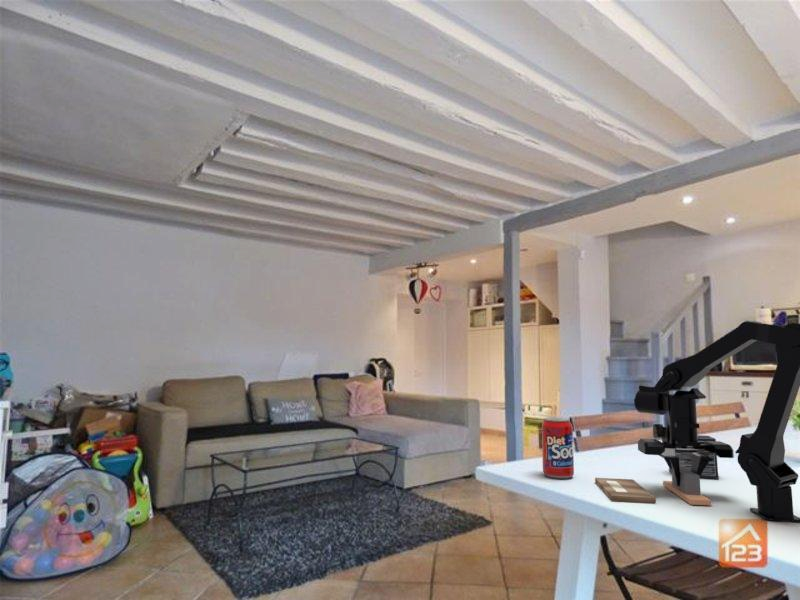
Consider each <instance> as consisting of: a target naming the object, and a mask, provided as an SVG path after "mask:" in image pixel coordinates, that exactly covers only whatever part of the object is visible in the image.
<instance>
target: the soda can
mask: <svg viewBox="0 0 800 600" xmlns="http://www.w3.org/2000/svg"><path fill="white" fill-rule="evenodd" d="M543 420H544V421H542V423H541V446H542V447H541V449H542V450H541V452H542V454H541V456H542V473H543V474H544V475H545V476H547V477H549V478H552V479H558V480H566V479H570V478H571V477H573V476H574V475H575V464H574V462H575V459H574V457H575V456H574V427H573V425H572V423H571V422H570V421H571V419H570V418H566V417H559V416H557V417H556V416H551V417H544V419H543Z"/></svg>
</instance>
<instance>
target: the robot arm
mask: <svg viewBox="0 0 800 600" xmlns="http://www.w3.org/2000/svg"><path fill="white" fill-rule="evenodd" d="M755 342H763V343H769V344H773V345H775V348H774V349H775V358H776V359H775V360H776V367H775V371H774V374H773V377H772V380H771V382H770V386H769V389H768V392H767V396H766V398H765V402H764V405H763V408H762V411H761V414H760V418H759V419H758V424H757V426H756V429H755V431H754V432H751V433H745V434H741V436H740V438H739V439H740V441H739V446H738V448H737V450H736V451H735V452H734V449H733V447H732V445H730V444H729V443H726V442H723V441H720V440H719V441H718V440H716V441H705V442H704V444H700V442H698V435H699V434H698V429H700V423H699V422H698V419H697V400H705V399H706V398H707V396H706V395H705V394H704V393H702V392H701V391H700V390H699V388H697V387H696V388H695V386H696V385H698V384H699V383H700V382H701V381H702V380H703V379H704V378H705V377H706V376H707V374H708V373H709V372H710V370H712V369H713V368H714V367H716V366H717V365H719V364H721V363H722V362H724V361H725V360H727V359H729V358H730V357H733V356H734V355H735V354H737V353H739V352H740V351H742V350H744V349H745V348H747V347H749V346H751V345H752V344H754V343H755ZM693 387H694V388H693ZM685 388H687V389H688V388H691V389H690V390H682V389H685ZM799 389H800V323H797V322H793V323H787V324H785V325H779V324H778V325H777V324H771V323H763V322H761V321H756V320H746V321H743V322H741V323H740V324H739V325H737V327H735V328H734V329H732V330H730V331H729V332H728V333H725V334H724V335H723V336H721V337H720V338H719V339H717V340H715V341H713V342H712V343H711V344H709V345H707V346H706V347H704V348H702V349H700V351H698V352H696V353H695V354H693V355H690V356H688V357H683V358H681V359H678V360H676V361H672V362H671V363H669V364H666V365H665V366H664V368H663V369H662V374H661V377H660V378H659V380H658V381H657V383H656V384H655V385H654V386H650V385H644V384H642V385H639V386H638V390H637V392H636V393H635V397H634V400H633V402H634V403H633V405H634V407H635V410H636V411H637V412H639V413H640V414H641V413H642V414H650V415H661V416H665V415H666V414H667V412H668V419H666V426H663V424H660V423H659V424H658V423H654V424H653V425H652V435H653V438H640V439H638V441H637V451H639V452H641V453H642V454H644V455H648V456H649V455H650V456H659V457H661V458H662V459H663V460H664V461H665V463H666V465H667V466H668V470H669V469H670V471H671V473H670V474H671V477H672V476H673V479H674V481H675V484H676V486H678V487H679V486H680V465H679V457H677V456H676V454H675V452H693V453H689V455H690V458H691V471H692V472H694V473H696V474H697V475H699V476H700V477H701V474H702V472H703V471H704V469H705V467H706V466H707V464H708V463H709V461H713V458H711V457H710V455H711V453H715V454H716V455H717V458H720V459H734V458H735V456H734V453H735V454H738V455H737V463H738V464H739V467H740V468H741V470H742V471H744V473H745V475H746V476H747V479H748V481H749V483H750V485H751V486H755V487H756V488H755V489H756V503H757V507H749V511H751V512H752V513H754V514H755V515H757V516H760V517H761V518H762V519H764V520H766V521H776V522H778V521H779V522H792V523H793V522H795V523H800V517H799V516H797V515H795V514H794V506H793V491H792V486H793V485H796V484H797V481H798V478H799V473H797V472H796V471H795V470H794V469H793V468H792V467H791V466H789V464H788V463H787V462H785V456H786V455H785V454H786V453H785V452H786V448H785V441H784V435H785V431H786V429H787V425H788V424H789V419H790V417H791V414H792V411H793V407H794V406H795V402H796V399H797V396H798V392H799ZM674 391H675V392H674ZM670 392H674V393H670ZM659 439H661V440H659Z"/></svg>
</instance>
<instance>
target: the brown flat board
mask: <svg viewBox="0 0 800 600" xmlns="http://www.w3.org/2000/svg"><path fill="white" fill-rule="evenodd" d="M594 478H595V479H594V483H595V484H596V485H597V487H599V488H600V489H601V491H602V492H603V493H604V494H605V495H606V496H607V498H608V499H609V500H610V501H611V502H617V503H618V502H620V503H639V504H655V503H656V504H657V499H656V497H655V496H654V495H653V494H651V493H650V492H649V491H648V490H647V489H645V488H644V486H642V485H640V484H639V483H638V482H637V481H636V480H634V479H632V478H631V479H629V478H628V479H627V478H609V477H607V478H606V477H594Z"/></svg>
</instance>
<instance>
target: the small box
mask: <svg viewBox="0 0 800 600" xmlns="http://www.w3.org/2000/svg"><path fill="white" fill-rule="evenodd" d="M705 441H717V439H716V438H715V437H712V436H709V435H703V434H702V435H701V434H700V435H699V434H698V442H700V444H704V442H705ZM689 453H693V452H675V454H676V456H677V457H679V465H680V467H682V468H687V469H688V470H690V471H691V458H690V455H689ZM710 457H711V458H713V461H709V463H708V464H707V466H706V467H705V469H704V471H703V472H702V474H701V477H700V479H707V480H719V479H720V476H719V471H718V470H719V468H718V456H717V455H716V454H715V453H711V455H710ZM668 472H669V474H671V471H670V469H669V468H668Z"/></svg>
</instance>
